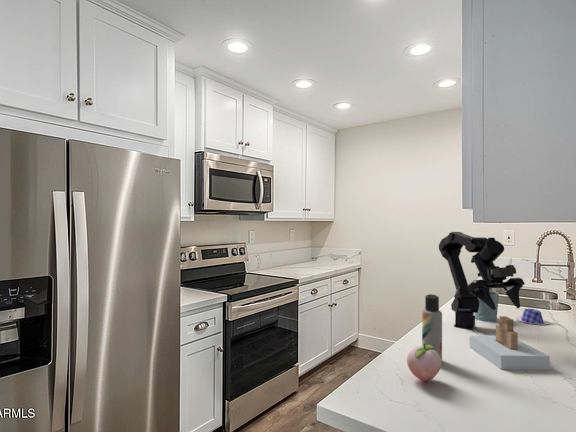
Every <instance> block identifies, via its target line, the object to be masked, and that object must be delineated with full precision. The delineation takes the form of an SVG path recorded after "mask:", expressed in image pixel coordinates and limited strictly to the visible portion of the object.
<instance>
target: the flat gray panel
mask: <svg viewBox="0 0 576 432" xmlns="http://www.w3.org/2000/svg"><path fill="white" fill-rule="evenodd" d="M469 348H470V349H471V350H473V351H474V352H476V353H477V354H478V355H480V356H481V357H483V358H485V359H486V360H487V361H488V362H490V363H491V364H493V365H494V366H495V367H497V368H498V369H500V370H523V371H524V370H525V371H526V370H529V371H530V370H532V371H533V370H534V371H541V370H542V371H550V369H551V367H550V364H551V363H550V359H551V357H550V355H548V354H547V353H544V351H543V352H542V351H541V350H539V349H537V348H535V347H533V346H531V345H529V344H527V343H525V342H524V341H521V340H520V339H518V350H510V349H508V348H507V347H505V346H503V345H502V344H500V343H498V342H497V341H496V335H479V334H478V335H477V334H476V335H469Z"/></svg>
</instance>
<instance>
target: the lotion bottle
mask: <svg viewBox="0 0 576 432" xmlns="http://www.w3.org/2000/svg"><path fill="white" fill-rule="evenodd" d="M424 297H425V300H424V301H425V304H424V305H425V307H424V309H423V310H421V312H422V313H421V315H422V316H421V319H422V320H421V338H422V339H421V347H423V346H424V344H425V345H431V346H433V347H434V348H435V349H433V350H435V351H436V352H437V353H438V354H439V356H440V358H441V363H442V361H443V312H442V311H441V310H440V299H439V298H440V296H438V295H435V294H430V293H429V294H427V295H425V296H424Z"/></svg>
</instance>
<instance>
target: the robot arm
mask: <svg viewBox="0 0 576 432" xmlns="http://www.w3.org/2000/svg"><path fill="white" fill-rule="evenodd" d="M463 247H464V249H465V250H466V252H468V253H475V254H474V255H472V257H471V259H470V263H472V264H473V263H474V264H475V267H476V270H477V271H478V273H477V276H478V277H481V279H475V280H472V281H471V282H470V283H469V284H468V281H467V278H466V275H465V272H464V271H465V270H464V269H463V268H464V267H463V265H462V262H461V259H460V255H461V252H462V249H463ZM438 250H439V252H440V255H441V257H442V258H444V259H445V260H446V261H447V264H448V266H449V270H450V273H451V277H452V280H453V284H454V287H455V289H456V290H455V293H454V299H453V301H452V303H451V304H450V306H451V307H450V308H451V310H452V311H453V312H454V315H455V318H454V319H455V322H454V323H455V324H454V325H453V327H456V328H462V329H466V330H473V329H474V327H476V319H475V313H478V309H479V304H480V302H479V299H481V300H482V301H483V302H484V303H486V304H487V305H488V306H489V307H490V308H491V309H493V310H495V309H496V307H495V304H494V302H493V300H492V298H491V296H490V294H489V291H490V289H502V288H503V291H505V292H504V293H505V295H506V296H507V297H508V298H509V299H510V301H511V302H512V304H513V305H514V306H515V307H516V308H517V309H520V308H521V302H520V290H521V289H522V288H523V286H525V284H526V282H524V280H523V278H521V277H514V275H516V274H517V268H516V267H515V265H514V264H507V265H505V267H500V266H499V265H495V263H494V262H495V261H496V260H497V259H498V258H499V257H500V256H501V255H502V253H504V251H505V246H504V245H503V244H502V242H500V241H498V240H496V238H495V237H488V238H487V237H477V236H476V237H474V236H471V235H468V234H466V233H464V232H461V231H450V232H449V233H448V235H447V236H444V238H441V241H440V242H439V244H438ZM508 277H509V278H508ZM507 278H508V280H507ZM478 298H479V299H478Z"/></svg>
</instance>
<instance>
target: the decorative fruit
mask: <svg viewBox="0 0 576 432" xmlns="http://www.w3.org/2000/svg"><path fill="white" fill-rule="evenodd" d="M433 349H435V348H434V347H433V346H431V345H425V344H424V346H423V347H422V346H416V347H413V348H412V349H411V350H410V351H409V352H408V353H407V356H406V357H407V358H406V364H407V367H408V369H409V371H410V372H411V373H412V375H413V376H414V377H416V379H419V380H420V381H423V382H425V383H426V382H429V381H431V380H433V379H434V378H435V377H436V376H437V375H438V373H439V372H440V370H441V367H442V362H441V358H440V356H439V354H438V353H437V352H436V351H435V350H433Z"/></svg>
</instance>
